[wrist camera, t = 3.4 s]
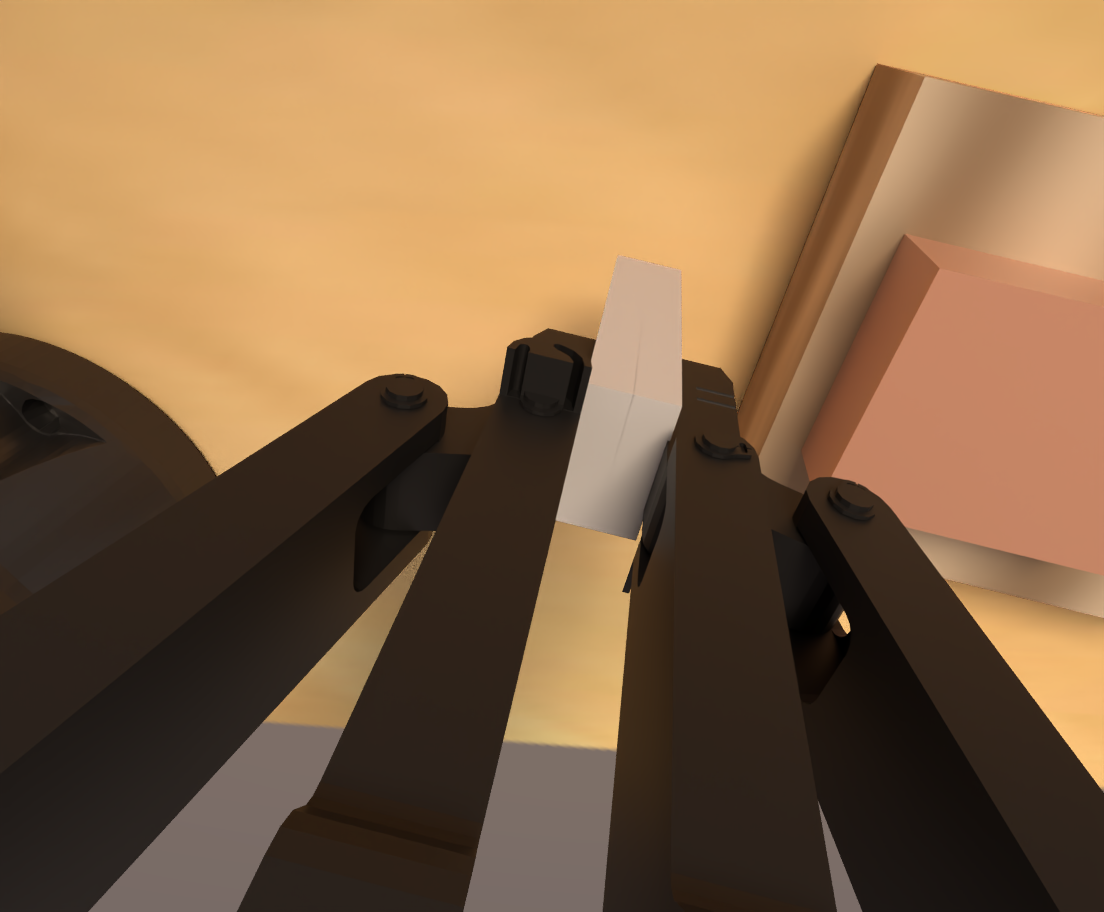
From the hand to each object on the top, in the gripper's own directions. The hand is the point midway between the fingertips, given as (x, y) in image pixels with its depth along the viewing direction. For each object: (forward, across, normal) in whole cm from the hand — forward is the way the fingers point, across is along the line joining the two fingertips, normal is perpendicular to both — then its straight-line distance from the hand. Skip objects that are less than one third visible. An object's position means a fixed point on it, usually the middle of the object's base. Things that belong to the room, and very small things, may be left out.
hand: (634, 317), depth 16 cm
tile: (+1, +9, 0) cm, 9 cm away
